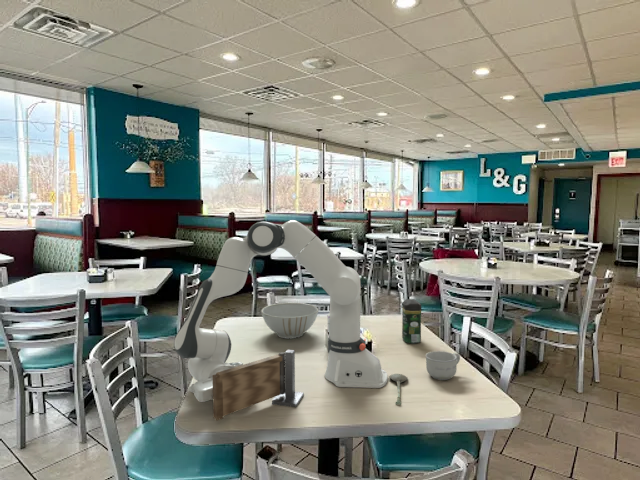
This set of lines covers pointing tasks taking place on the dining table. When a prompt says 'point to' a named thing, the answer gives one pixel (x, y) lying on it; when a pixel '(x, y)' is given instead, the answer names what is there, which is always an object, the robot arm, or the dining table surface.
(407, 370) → the dining table surface
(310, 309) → the decorative bowl
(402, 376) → the soupspoon
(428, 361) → the teacup
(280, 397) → the gate post
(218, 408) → the gate
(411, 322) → the coffee jar
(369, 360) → the robot arm
